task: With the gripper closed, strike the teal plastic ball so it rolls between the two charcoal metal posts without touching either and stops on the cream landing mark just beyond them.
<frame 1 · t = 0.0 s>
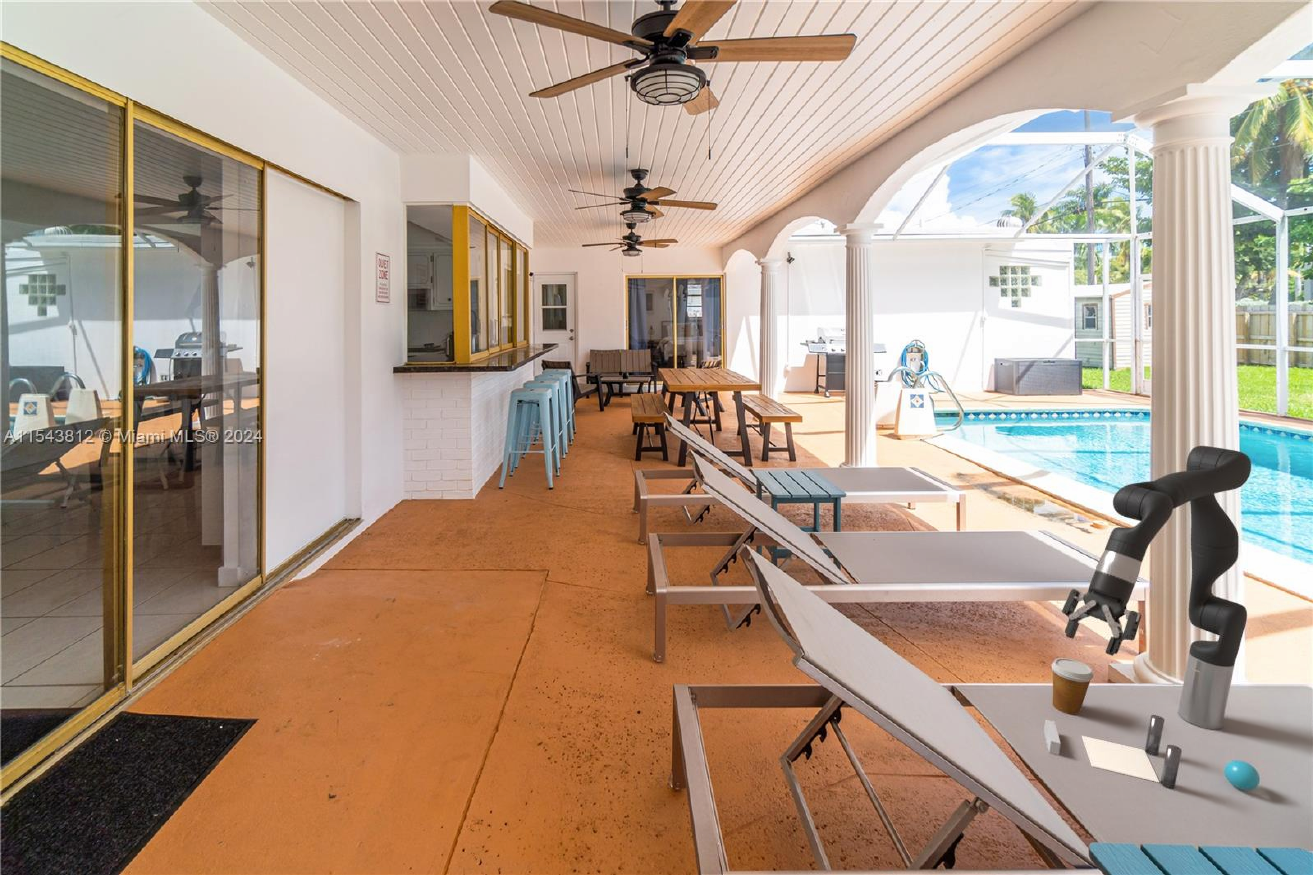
hand: (1088, 645, 150), 31 cm above the table, tool tilted 20°, fingers open, 8 cm apart
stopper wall: (1051, 742, 168), on the table
post 1: (1151, 752, 166), on the table
ball: (1241, 775, 154), on the table
disposable coffee cup: (1065, 708, 184), on the table
post 2: (1167, 785, 154), on the table
landing mark: (1118, 758, 163), on the table
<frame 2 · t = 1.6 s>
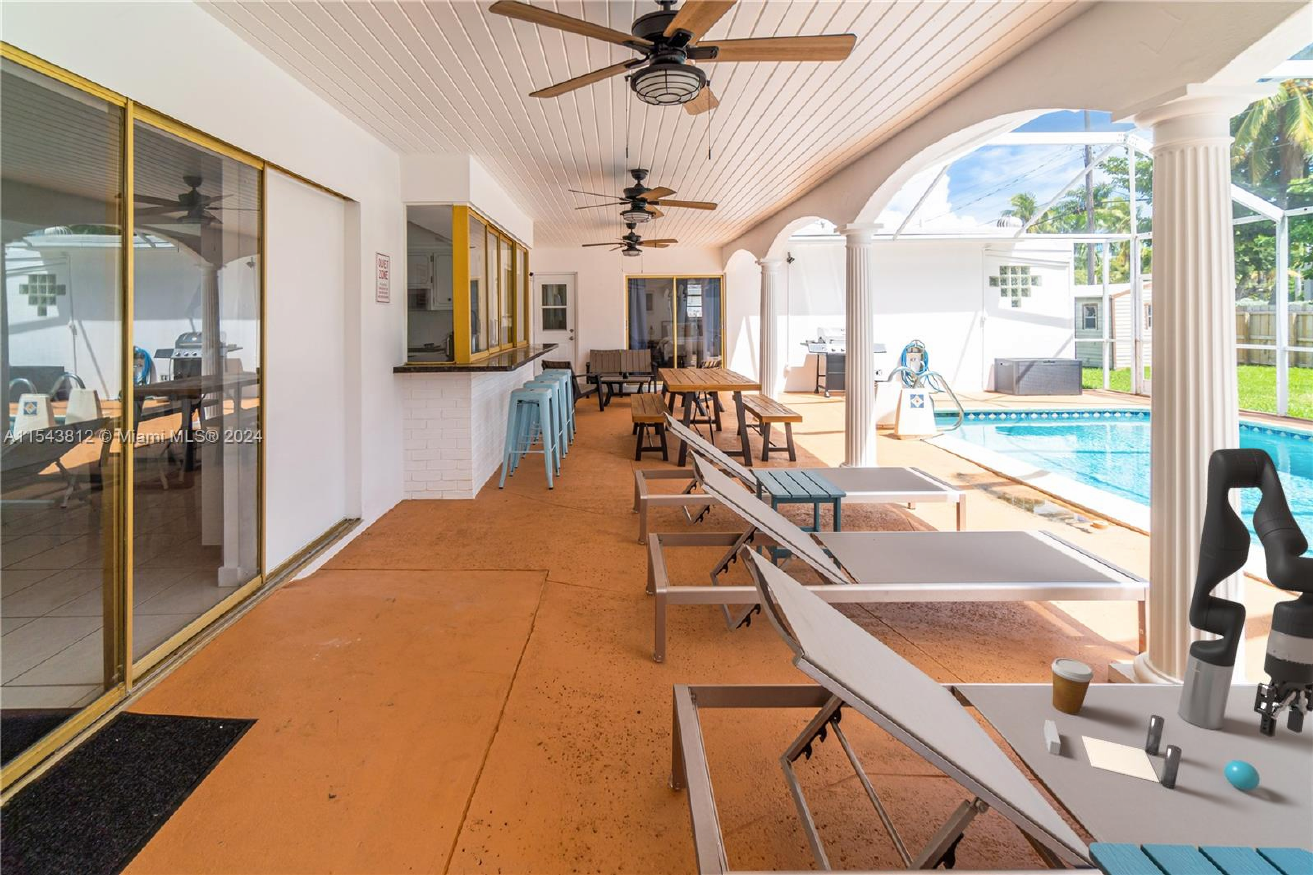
hand: (1280, 733, 140), 20 cm above the table, tool pointing down, fingers open, 8 cm apart
nothing on the table moved.
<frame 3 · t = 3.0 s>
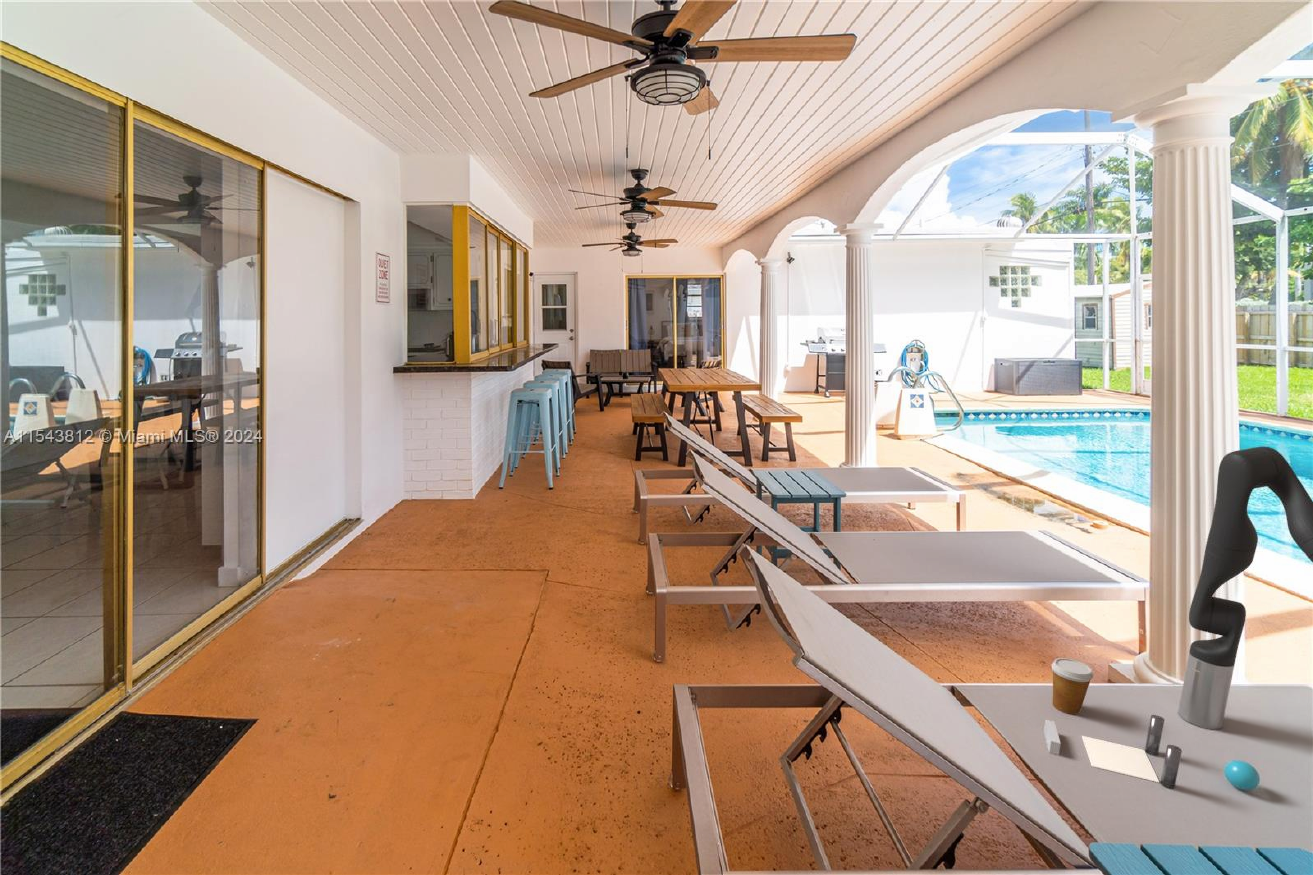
nothing on the table moved.
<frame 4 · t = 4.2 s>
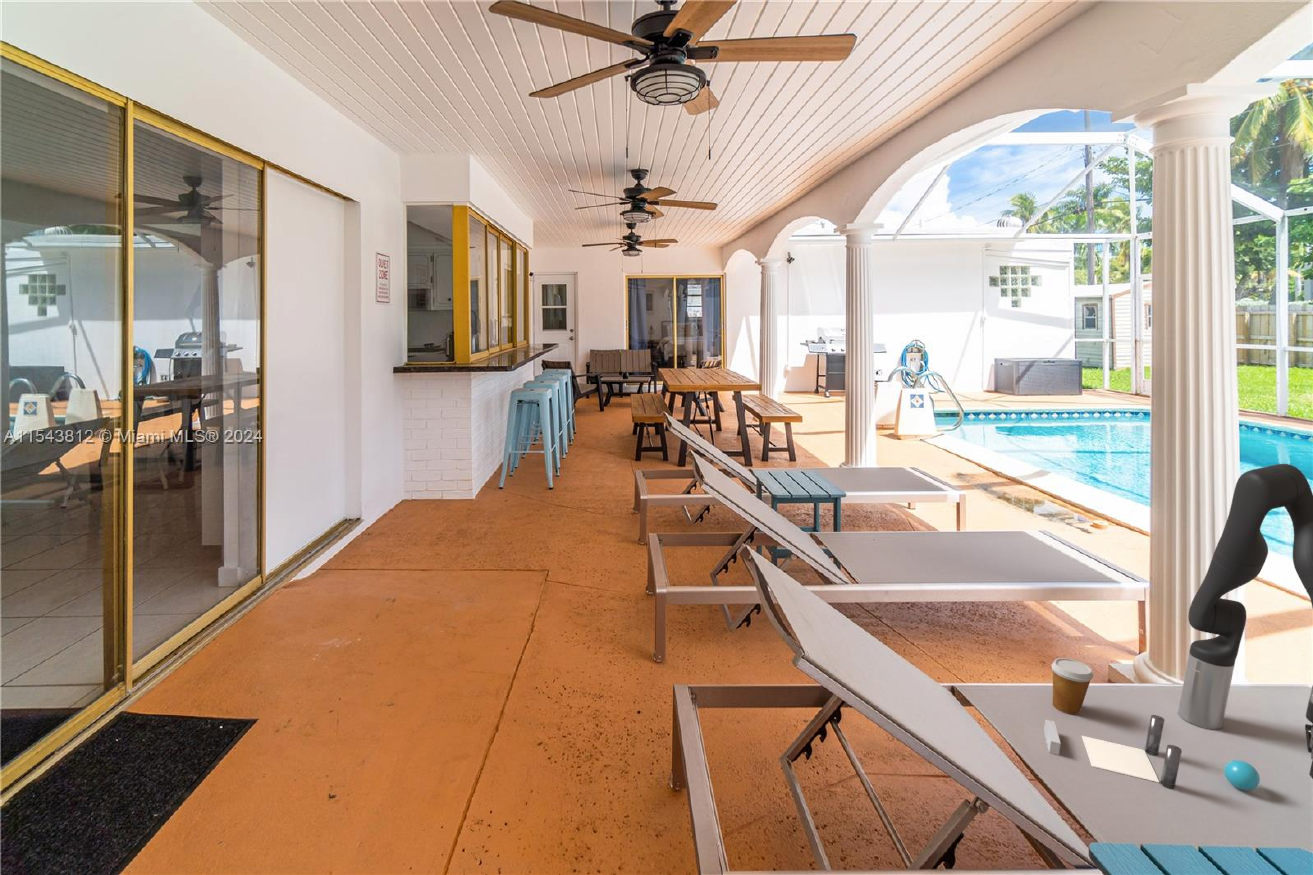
nothing on the table moved.
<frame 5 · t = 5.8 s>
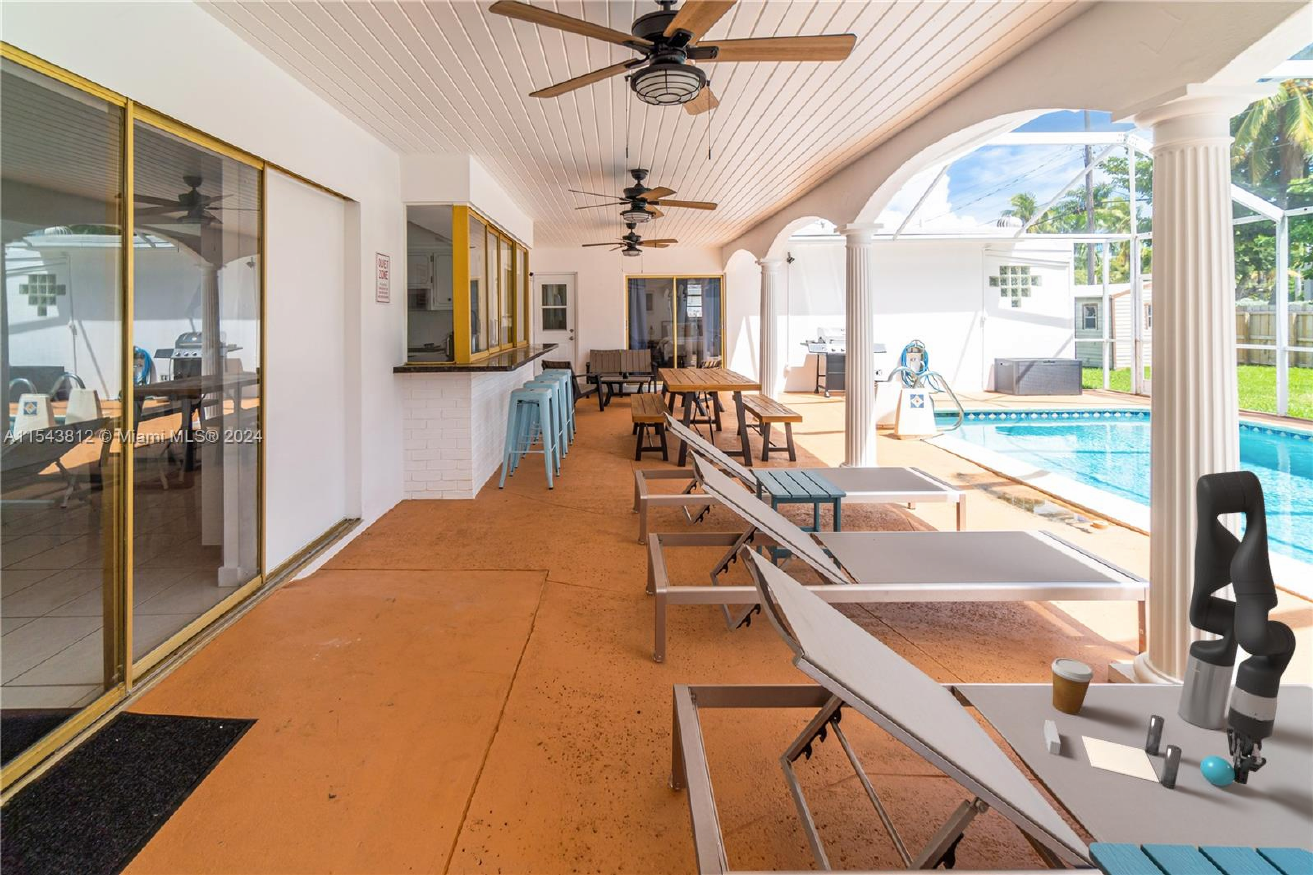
hand: (1239, 781, 153), 2 cm above the table, tool pointing down, fingers closed
ball: (1217, 770, 155), on the table
everything else where it was.
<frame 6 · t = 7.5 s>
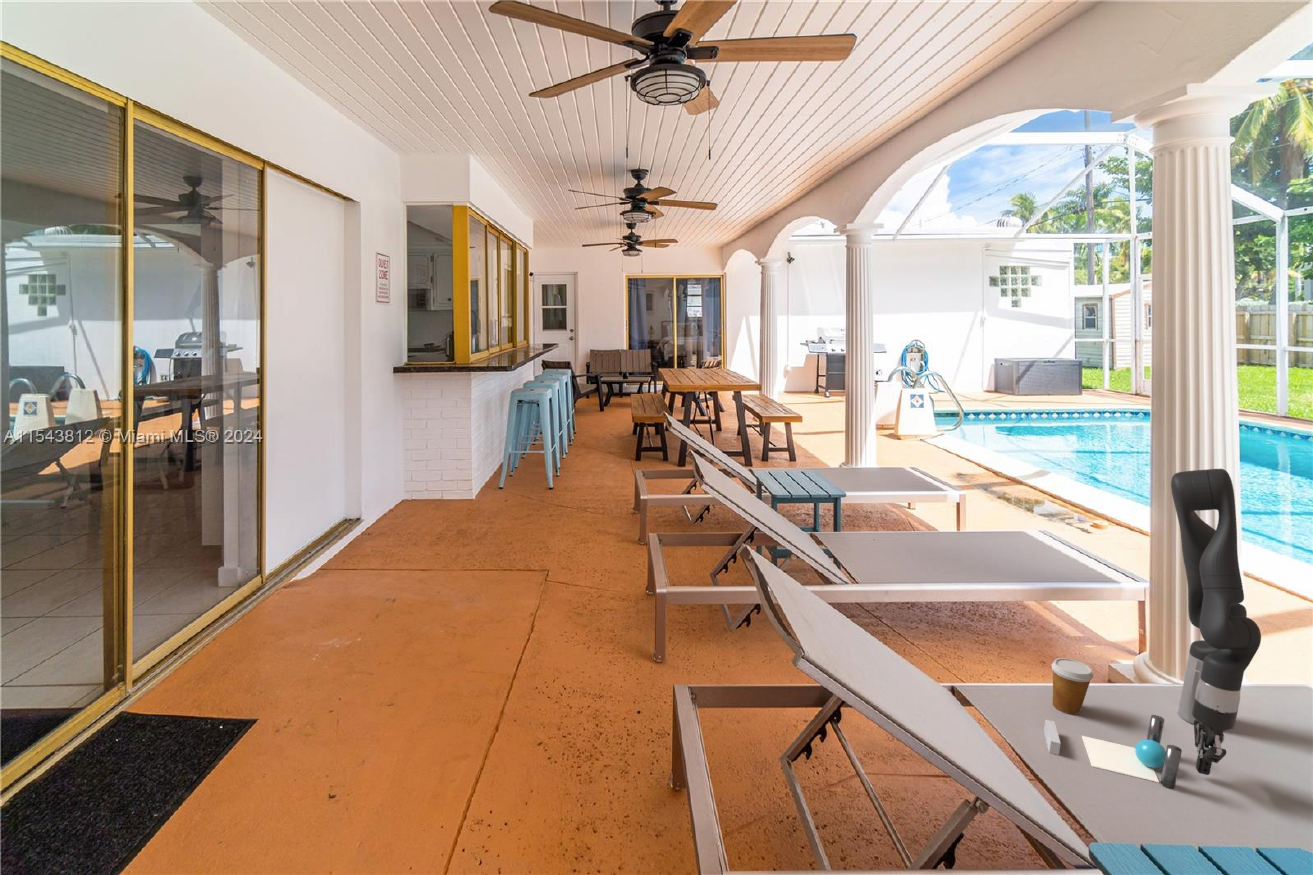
hand: (1202, 772, 156), 1 cm above the table, tool pointing down, fingers closed
ball: (1151, 753, 160), on the table
everything else where it was.
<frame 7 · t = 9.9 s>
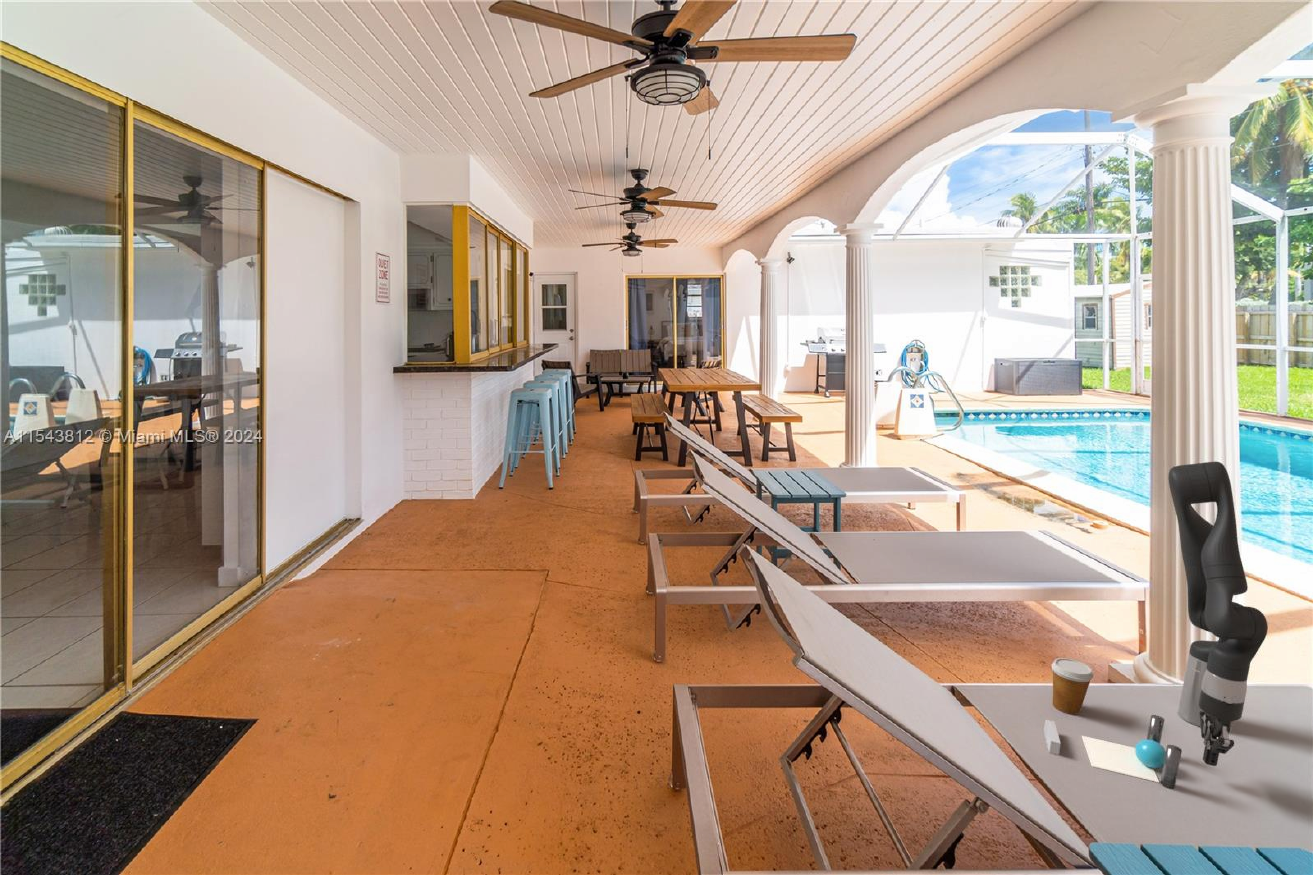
hand: (1209, 763, 156), 4 cm above the table, tool pointing down, fingers closed
nothing on the table moved.
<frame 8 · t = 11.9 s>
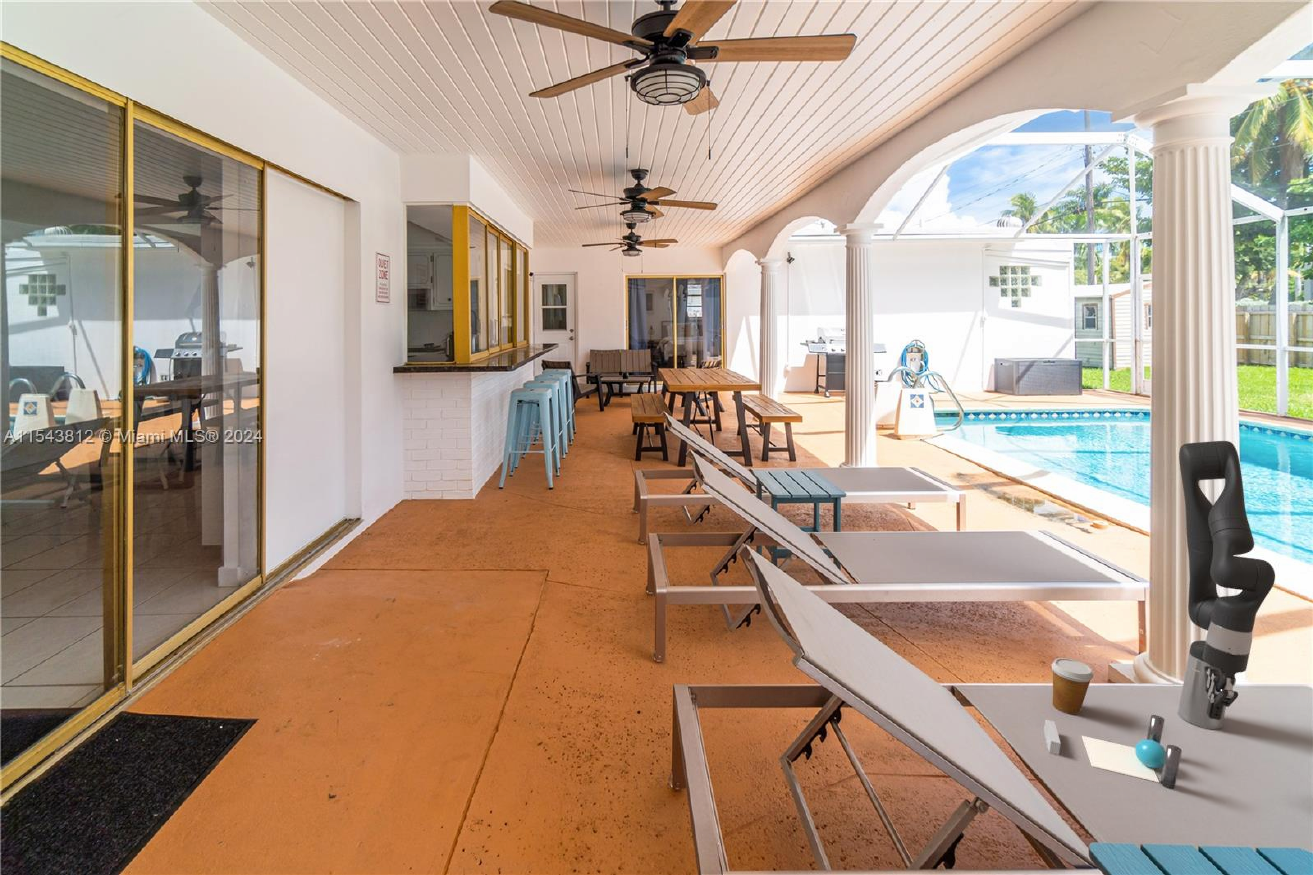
hand: (1213, 717, 154), 15 cm above the table, tool pointing down, fingers closed
nothing on the table moved.
at the end: ball 6.0 cm from the landing mark (horizontally); ball never touched post 1; ball never touched post 2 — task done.
